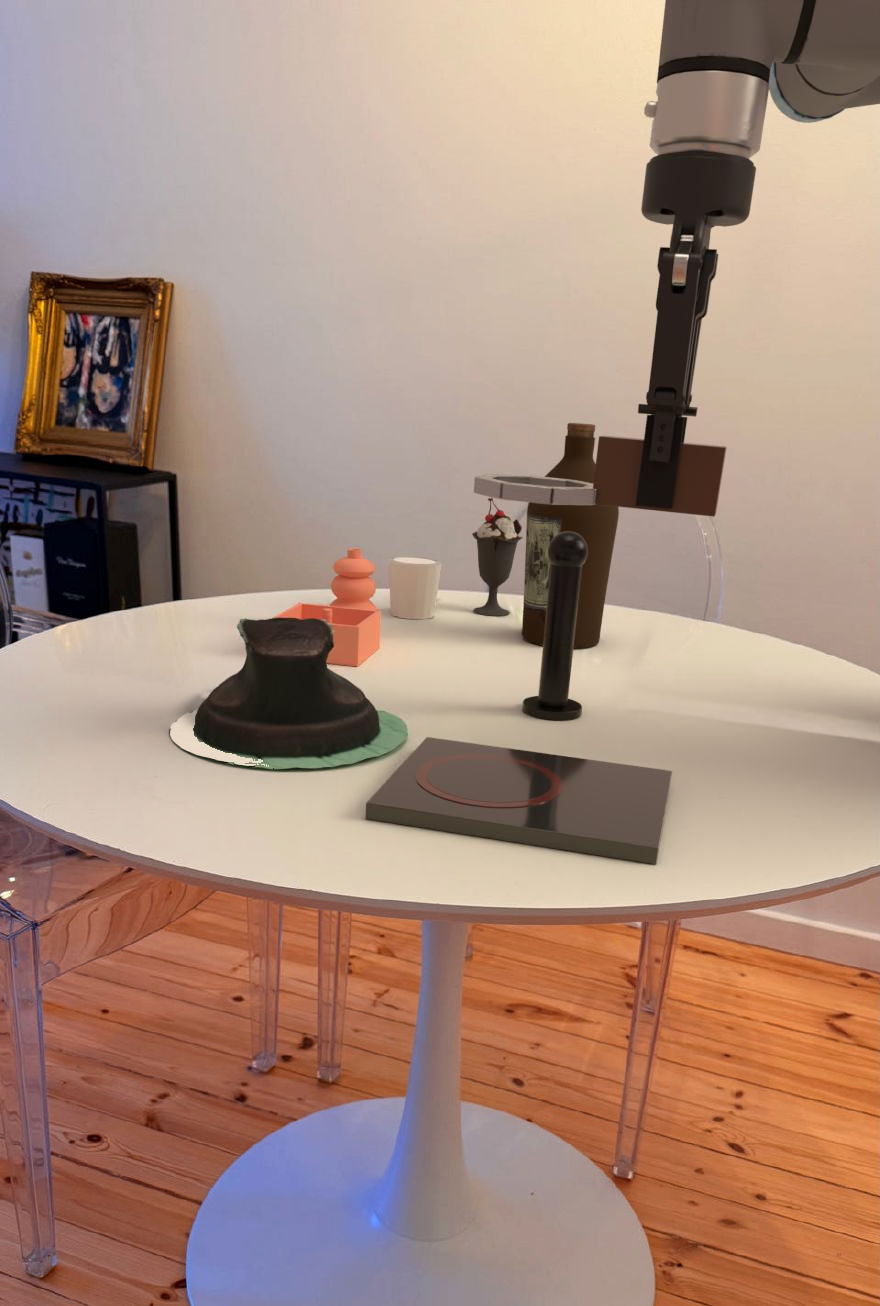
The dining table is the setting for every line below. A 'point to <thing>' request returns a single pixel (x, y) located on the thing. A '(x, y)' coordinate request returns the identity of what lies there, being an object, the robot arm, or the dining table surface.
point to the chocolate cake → (293, 703)
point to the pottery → (348, 611)
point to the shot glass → (413, 586)
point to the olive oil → (582, 519)
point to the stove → (528, 799)
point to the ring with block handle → (619, 480)
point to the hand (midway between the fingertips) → (655, 504)
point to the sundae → (496, 556)
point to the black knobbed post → (559, 630)
